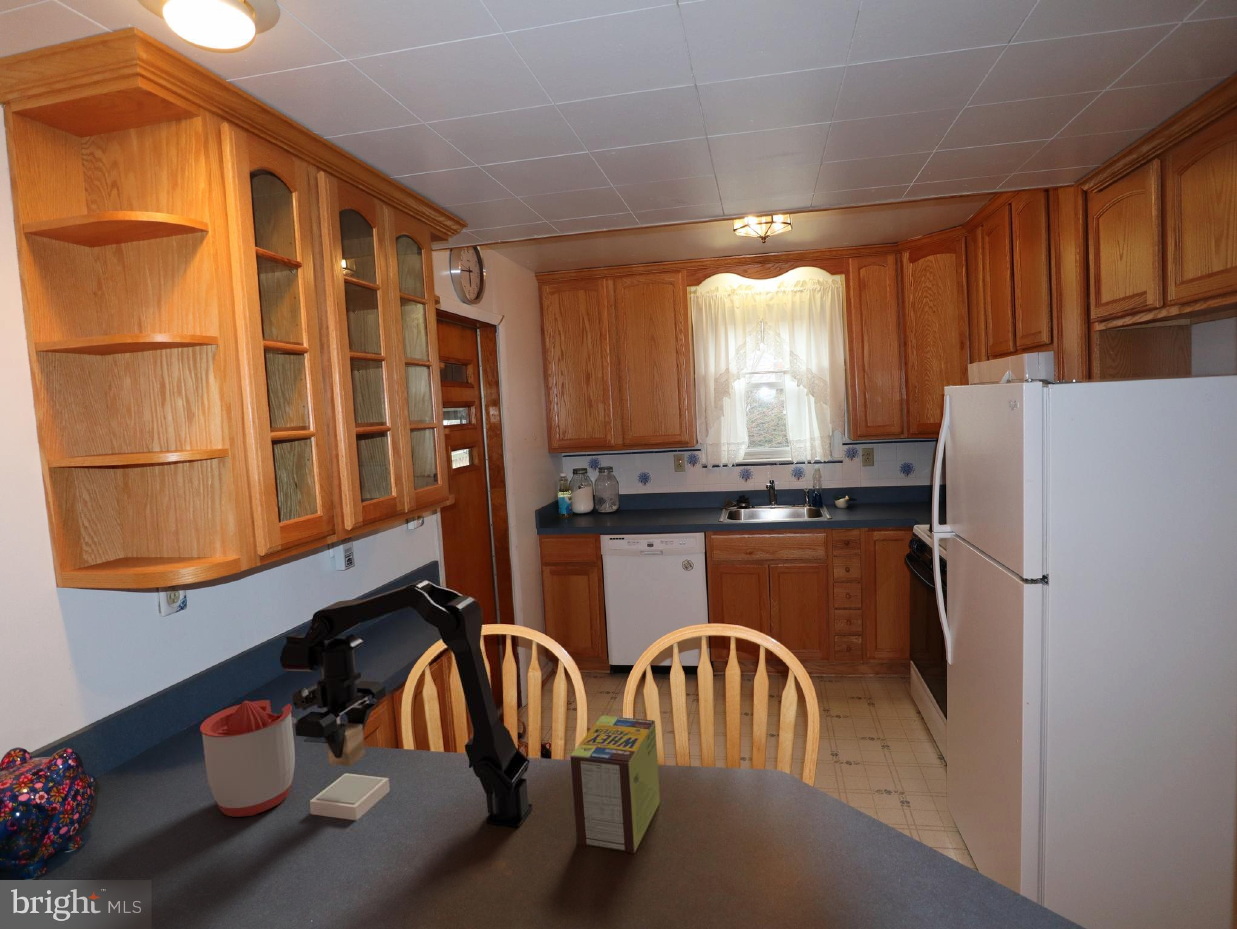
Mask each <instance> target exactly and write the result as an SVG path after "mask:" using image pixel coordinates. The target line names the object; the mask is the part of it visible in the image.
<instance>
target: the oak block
mask: <svg viewBox="0 0 1237 929" xmlns="http://www.w3.org/2000/svg"><path fill="white" fill-rule="evenodd" d="M340 724H346V731H345V738H344V745H343V752H342V756H341V758H335V756H334V754H333V753H332V751H331V749H330V747H329V745H328V743H327V742H326V745H327V753H328V754H327V755H328V764H329V765H334V766H342V767H351V766H352V765H353V764H355V763H356V762H357V761H359V760H360V759H361V758H362V757H364V756H365V755H366V752H365V740H364V730H363V728H362V724H355V723H348V722H344V721H343V722H340Z"/></svg>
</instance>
